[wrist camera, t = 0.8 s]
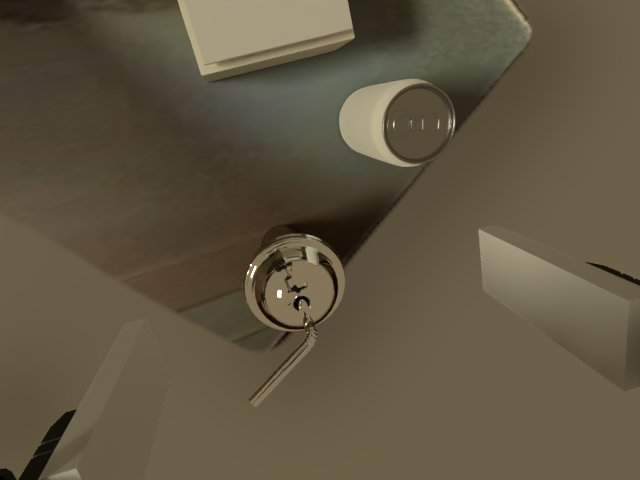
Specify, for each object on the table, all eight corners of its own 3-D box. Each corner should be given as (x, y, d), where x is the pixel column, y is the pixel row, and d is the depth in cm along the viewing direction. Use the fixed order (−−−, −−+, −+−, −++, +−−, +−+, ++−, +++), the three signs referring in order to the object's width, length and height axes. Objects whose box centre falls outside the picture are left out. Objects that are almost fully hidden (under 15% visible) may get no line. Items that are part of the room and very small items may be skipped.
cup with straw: (330, 269, 44) (397, 385, 25) (250, 294, 43) (259, 433, 25) (311, 196, 41) (371, 266, 23) (225, 221, 40) (213, 315, 22)
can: (337, 86, 39) (378, 76, 27) (401, 86, 40) (465, 76, 28) (337, 155, 41) (375, 172, 29) (398, 153, 42) (457, 168, 30)
